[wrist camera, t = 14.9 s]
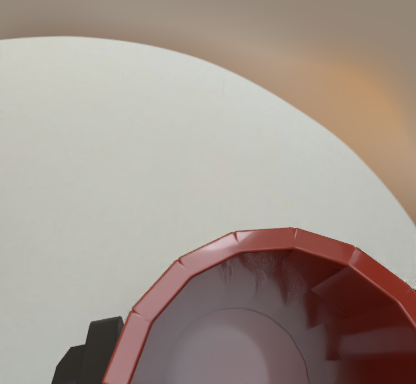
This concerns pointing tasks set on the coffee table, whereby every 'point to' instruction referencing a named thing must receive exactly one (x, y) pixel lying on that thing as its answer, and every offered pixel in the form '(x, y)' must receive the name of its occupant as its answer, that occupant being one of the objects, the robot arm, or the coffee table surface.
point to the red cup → (270, 316)
